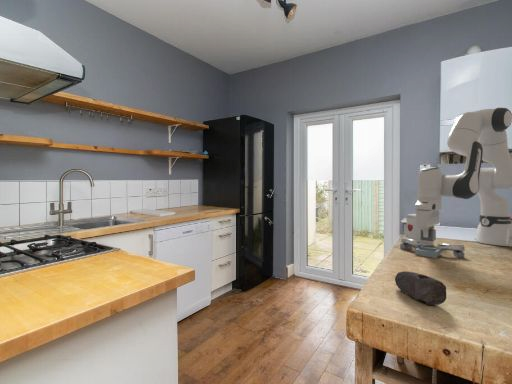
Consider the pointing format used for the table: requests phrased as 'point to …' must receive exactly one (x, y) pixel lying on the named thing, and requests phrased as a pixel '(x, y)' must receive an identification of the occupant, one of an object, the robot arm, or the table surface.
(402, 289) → the perforated stone tool
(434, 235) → the block
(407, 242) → the shaft
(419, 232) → the supplement box
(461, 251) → the shaft
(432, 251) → the housing
